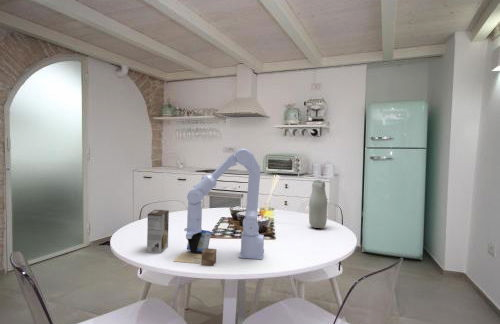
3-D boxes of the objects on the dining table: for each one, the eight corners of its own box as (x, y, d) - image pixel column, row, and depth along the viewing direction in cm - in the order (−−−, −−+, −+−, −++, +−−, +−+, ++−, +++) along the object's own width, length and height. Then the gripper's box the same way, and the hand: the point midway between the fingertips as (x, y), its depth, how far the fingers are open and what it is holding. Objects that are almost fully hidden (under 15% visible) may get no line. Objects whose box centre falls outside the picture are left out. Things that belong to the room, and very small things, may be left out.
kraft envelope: (206, 254, 123) (206, 254, 123) (199, 263, 113) (199, 262, 113) (182, 253, 124) (182, 252, 124) (173, 261, 114) (173, 260, 114)
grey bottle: (327, 227, 177) (329, 180, 177) (323, 231, 168) (325, 181, 167) (311, 225, 182) (313, 179, 181) (306, 228, 173) (308, 180, 172)
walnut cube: (216, 261, 116) (216, 249, 116) (213, 266, 111) (213, 252, 111) (204, 261, 116) (205, 248, 116) (201, 265, 112) (201, 251, 112)
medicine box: (186, 249, 125) (190, 228, 127) (191, 249, 129) (194, 229, 131) (203, 252, 122) (206, 230, 125) (207, 252, 126) (211, 231, 129)
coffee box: (153, 246, 132) (154, 209, 132) (168, 246, 132) (169, 210, 132) (146, 252, 123) (147, 213, 123) (161, 253, 123) (162, 214, 123)
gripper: (190, 214, 130) (189, 245, 131) (178, 221, 116) (177, 256, 116) (206, 215, 129) (205, 246, 130) (196, 222, 115) (195, 258, 115)
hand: (193, 251), depth 123 cm, fingers closed
